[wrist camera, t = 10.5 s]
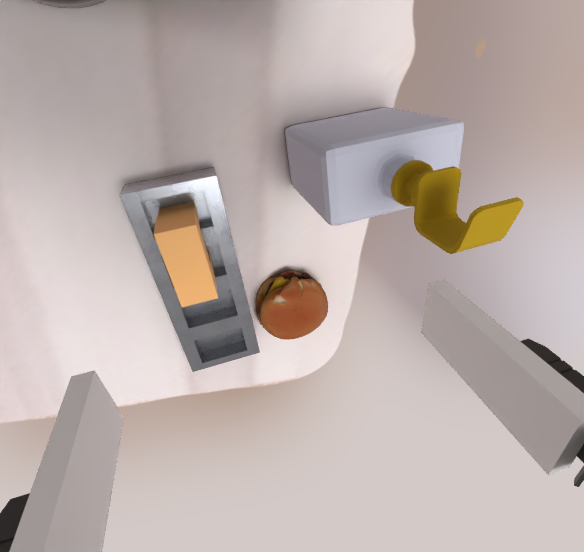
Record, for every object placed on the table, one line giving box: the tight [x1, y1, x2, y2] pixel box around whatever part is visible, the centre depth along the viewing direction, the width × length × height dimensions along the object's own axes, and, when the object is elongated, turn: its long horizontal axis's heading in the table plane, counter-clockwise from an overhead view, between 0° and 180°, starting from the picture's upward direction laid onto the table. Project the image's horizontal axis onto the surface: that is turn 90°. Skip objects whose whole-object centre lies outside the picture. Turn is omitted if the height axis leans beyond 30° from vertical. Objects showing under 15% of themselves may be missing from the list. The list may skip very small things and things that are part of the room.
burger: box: [256, 270, 328, 339], centre depth 45 cm, size 10×9×5 cm
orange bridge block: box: [154, 202, 218, 307], centre depth 34 cm, size 8×4×7 cm, turn 8°
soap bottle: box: [285, 107, 523, 254], centre depth 29 cm, size 12×7×23 cm, turn 99°
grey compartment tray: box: [120, 167, 260, 372], centre depth 40 cm, size 24×9×4 cm, turn 8°
